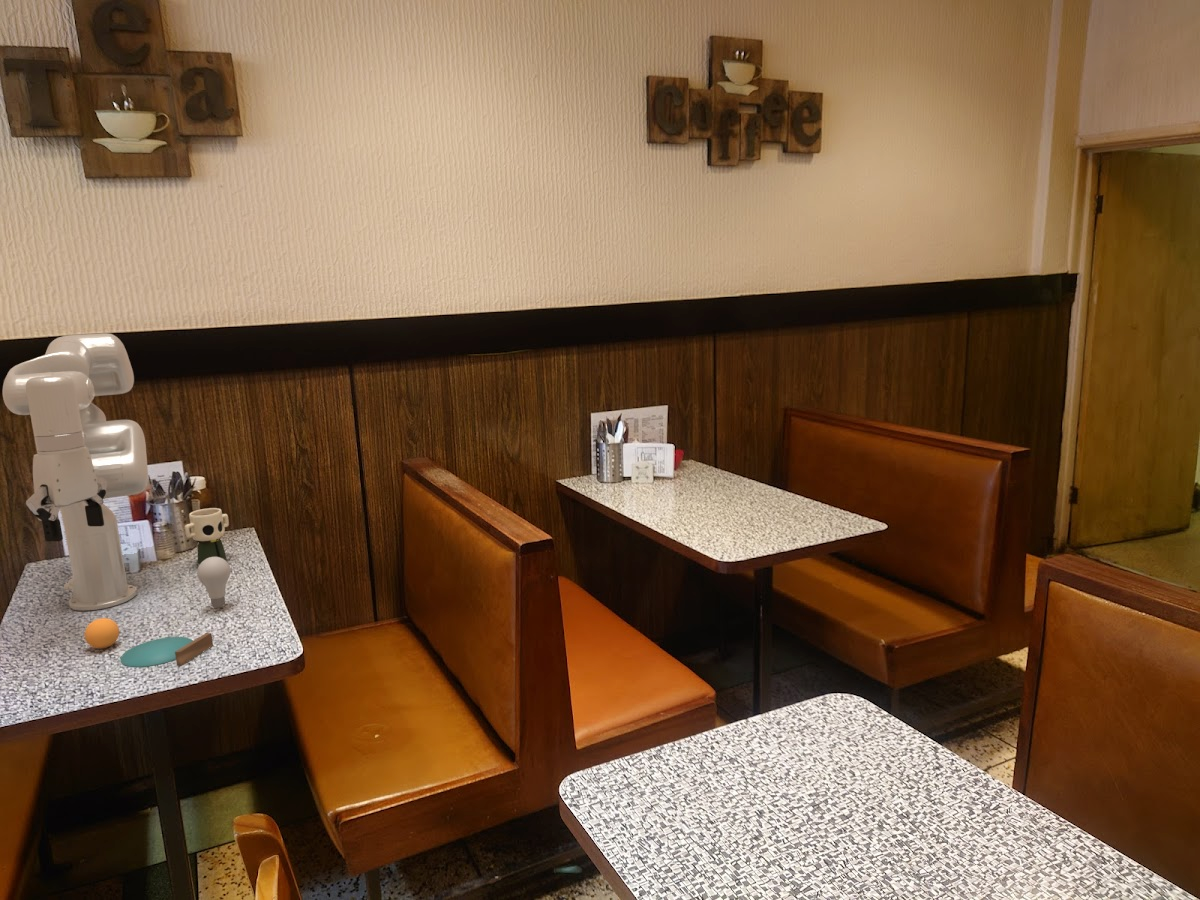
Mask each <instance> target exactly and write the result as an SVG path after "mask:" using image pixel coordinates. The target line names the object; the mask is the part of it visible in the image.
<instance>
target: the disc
mask: <svg viewBox="0 0 1200 900" xmlns="http://www.w3.org/2000/svg"><path fill="white" fill-rule="evenodd" d="M192 641H194V640H193V639H192V638H189V637H187V636H186V637H184V636H170V637H169V636H168V637H161V638H156V639H152V640H149V641H145V642H142V643H140V644H137V645H135V646H133V647H131V648H130V649H127V650H126V651H124V653H123V654H122V655H121V657H120V662H121V664H122V665H124V666H126V667H131V668H146V667H153V666H158V665H162V664H166V663H169V662H173V661H176V660H175V659H176V656H175V651H177V650H179V649H180V648H182V647H184V646H185V645H187V644H189V643H190V642H192ZM172 660H173V661H172Z"/></svg>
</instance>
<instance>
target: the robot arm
mask: <svg viewBox="0 0 1200 900" xmlns="http://www.w3.org/2000/svg"><path fill="white" fill-rule="evenodd" d="M45 351H46V352H45V354H43V355H41V356H38V357H35V358H32V359H30V360H26V361H24V362H21V363H19V364H16V365H14V366H13V367H12V368H10V369H9V371H8V372H7V375H6V376H5V378H4V379H3V385H2V398H3V399H2V400H3V403H4V404H5V406H6V408H7V410H9V411H10V413H13V414H15V415H19V416H29V415H30V419H31V427H32V431H33V432H32V433H33V437H34V438H33V439H34V444H35V449H36V454H33V459H32V479H33V480H32V482H33V490H34V491H33V492H34V493H33V494H32V495H31V496H30V497H29V498H27V499H26V500H25V505H26V506H27V507H28V509H29V510H30V511H31V514H32V515H33V516H35V517H36V518H37V520H38V521H40V522H42V529H43V534H44V540H45V541H46V542H62V541H63V539H64V538H63V531H62V525H61V521H60V519H59V518H57V517H58V515H59V512H60V515H61V518H62V519H61V520H62V524H63V528H64V534H65V535H64V536H65V540H66V545H67V551H68V556H69V562H70V568H71V573H72V578H70V579H69V580H68V582H67V583H65V584H64V585H63V590H64V591H66V592H68V591H69V592H70V591H71V592H72V597H70V599H69V600H68V606H69V608H70V609H72V610H75V611H96V610H102V609H107V608H111V607H115V606H118V605H121V604H123V603H126V602H128V601H131V600H132V599H133V598H135V597H136V595H137V594H138V591H137V587H136V586H134V585H132V584H129V583H128V581H127V574H126V569H125V564H124V563H125V562H124V556H123V551H122V545H121V538H120V533H119V532H120V531H119V525H118V520H117V517H116V515H115V513H114V512H113V511H112V510H111V509H110V508H109V507H108V506H106V505H105V504H104V503H105V502H104V500H105V499H111V498H118V497H127V496H135V495H138V494H141V493H142V492H144V491H145V490H146V488H147V486H148V482H149V468H148V458H147V457H148V456H147V455H148V454H147V446H146V437H145V434H144V431H143V429H142V427H141V426H140V425H139V423H138V422H136V421H134V420H131V419H115V420H113V419H112V420H107V417H106V415H105V413H104V411H103V410H102V409H101V408H99V407H98V406H97V405H96V404H94V403H93V400H94V398H95V397H99V396H100V397H101V396H111V395H112V396H113V395H122V394H126V393H129V392H130V391H131V390H132V388H133V387H134V384H135V375H134V370H133V368H132V365H131V361H130V359H129V355H128V352H127V350H126V348H125V345H124V343H123V342H122V341H121V339H120V338H118V336H116V335H114V334H113V333H107V332H106V333H105V332H104V333H103V332H102V333H101V332H100V333H88V334H87V333H86V334H85V333H83V334H69V335H63V336H60V337H56V338H55V339H54V340H52V341H51V342H50V343H49V344H48V346H47V349H46V350H45Z"/></svg>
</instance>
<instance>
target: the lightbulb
mask: <svg viewBox="0 0 1200 900" xmlns="http://www.w3.org/2000/svg"><path fill="white" fill-rule="evenodd" d="M196 573H197V577H198V580H199V581H200V583H201V584H202V585H203V587H204V588H205V589H206V592H207V593H208V598H209V599H210V603H211V607H213V609H214V608H215V609H217V610H218V609H221V608H222V607H225V605H226V598H225V597H226V586H227V583H228V580H229V578H230V575H231V568H230V564H229V563H228V562H227V560H226V561H225V560H224V559H222V558H220V557H210V558H207V559H205V560H204V561H203V562H201V564H198V568H197V572H196Z"/></svg>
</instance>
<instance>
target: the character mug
mask: <svg viewBox="0 0 1200 900" xmlns="http://www.w3.org/2000/svg"><path fill="white" fill-rule="evenodd" d="M188 517H189V523H188V524H185V525H184V533H185V537H186V539H192V540H194V541H196V542H198V543H197V564H198V565H200V564H201V562H203V561H204V560H205V559H207V558H210V557H220V558H222V559H224V560H225V561H226V562H227V555H226V554H227V553H226V552H225V548H224V545H223V541H222V540H221V537H223V536H224V535H225V532H226V531H225V530H226V529H225V528H228V527H229V525H230V522H229V516H228V514H227V513H223V512H222V509H221V508H217V507H209V508H202V509H197V510H194V511H191V512H190V513H189V514H188Z"/></svg>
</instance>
